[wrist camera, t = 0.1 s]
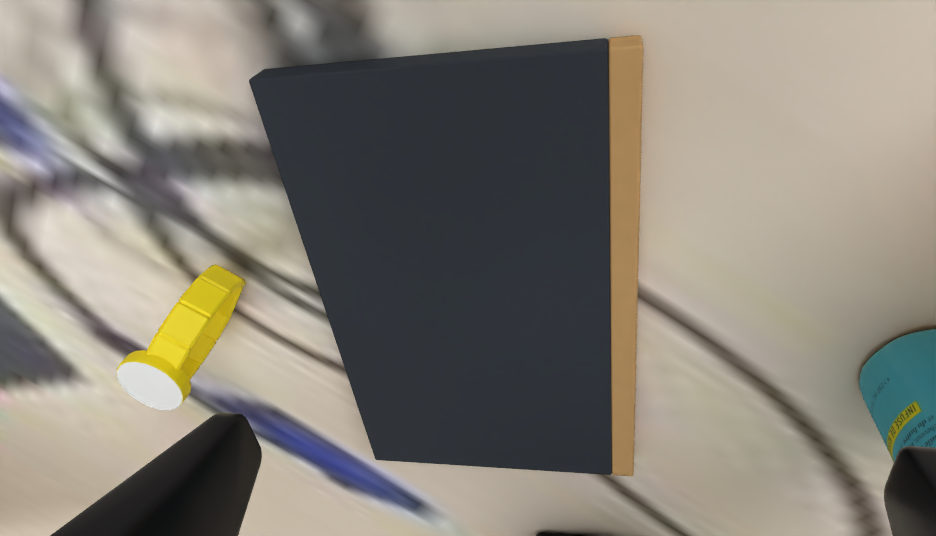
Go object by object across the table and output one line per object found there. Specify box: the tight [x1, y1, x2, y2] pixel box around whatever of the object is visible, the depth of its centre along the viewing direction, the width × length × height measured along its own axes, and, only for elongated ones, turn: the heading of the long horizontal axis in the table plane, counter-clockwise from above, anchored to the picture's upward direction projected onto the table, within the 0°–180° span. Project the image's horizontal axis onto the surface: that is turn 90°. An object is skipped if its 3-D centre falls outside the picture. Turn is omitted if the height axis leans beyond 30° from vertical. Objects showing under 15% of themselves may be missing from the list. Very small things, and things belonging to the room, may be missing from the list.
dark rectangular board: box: [249, 35, 643, 476], centre depth 25 cm, size 20×13×1 cm, turn 8°
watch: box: [117, 265, 246, 410], centre depth 26 cm, size 6×3×6 cm, turn 150°
